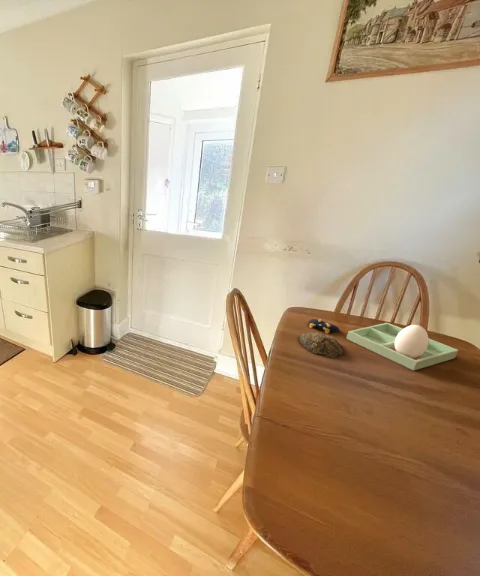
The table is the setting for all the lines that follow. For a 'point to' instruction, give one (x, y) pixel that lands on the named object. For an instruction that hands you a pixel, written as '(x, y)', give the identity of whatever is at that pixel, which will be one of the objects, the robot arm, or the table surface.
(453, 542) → the table surface
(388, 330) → the divided tray
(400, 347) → the egg
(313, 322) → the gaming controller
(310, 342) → the brown rock
